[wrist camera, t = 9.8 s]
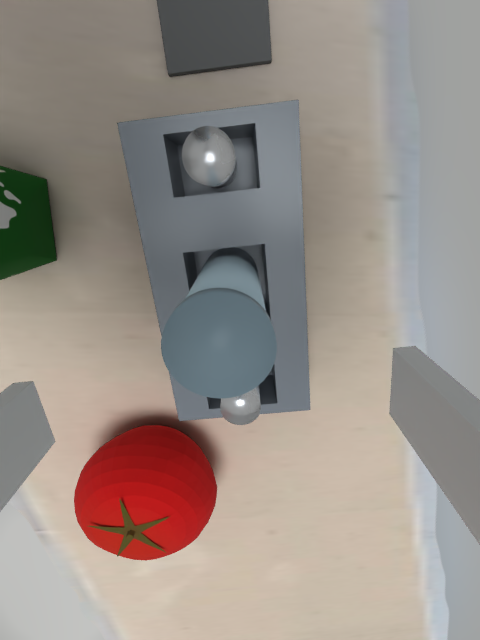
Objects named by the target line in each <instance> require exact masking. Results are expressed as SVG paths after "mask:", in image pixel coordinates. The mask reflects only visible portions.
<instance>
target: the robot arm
mask: <svg viewBox="0 0 480 640" xmlns="http://www.w3.org/2000/svg"><path fill="white" fill-rule="evenodd" d="M389 414H390V415H391V417H392V418H393V420H394V421H395V423H396V424H397V425H398V427H399V428H400V430H401V431H402V433H403V434H404V436H405V437H406V439H407V440H408V441H409V443H410V444H411V446H412V447H413V449H414V450H415V452H416V453H417V454H418V456H419V457H420V459H421V460H422V462H423V463H424V465H425V466H426V468H427V469H428V470H429V472H430V473H431V475H432V476H433V478H434V479H435V481H436V482H437V483H438V485H439V486H440V488H441V489H442V491H443V492H444V494H445V495H446V496H447V498H448V499H449V501H450V502H451V504H452V505H453V507H454V508H455V510H456V511H457V512H458V514H459V515H460V517H461V518H462V520H463V521H464V522H465V524H466V526H467V527H468V528H469V530H470V531H471V533H472V534H473V536H474V537H475V539H476V540H477V541H478V543H479V544H480V400H479V399H478V398H476V397H475V396H474V395H473V394H472V393H470V392H469V391H468V390H467V389H466V388H465V387H464V386H462V385H461V384H460V383H459V382H458V381H456V380H455V379H454V378H453V377H452V376H450V375H449V374H448V373H447V372H446V371H444V370H443V369H442V368H441V367H440V366H438V365H437V364H436V363H435V362H434V361H433V360H431V359H430V358H429V357H428V356H427V355H425V354H424V353H423V352H422V351H421V350H419V349H418V348H417V347H416V346H411V347H400V348H393V361H392V378H391V396H390V413H389ZM54 443H55V439H54V436H53V434H52V431H51V428H50V425H49V423H48V420H47V417H46V414H45V412H44V409H43V406H42V404H41V401H40V398H39V395H38V393H37V390H36V387H35V385H34V382H33V381H30V382H19V383H13V384H11V385H10V386H9V387H8V388H6V389H5V390H4V391H3V392H1V393H0V511H1V510H2V509H3V508H4V506H5V505H6V504H7V502H8V501H9V500H10V499H11V497H12V496H13V495H14V494H15V492H16V491H17V490H18V489H19V487H20V486H21V485H22V483H23V482H24V481H25V480H26V478H27V477H28V476H29V474H30V473H31V472H32V471H33V469H34V468H35V467H36V466H37V464H38V463H39V462H40V460H41V459H42V458H43V457H44V455H45V454H46V453H47V452H48V450H49V449H50V448H51V446H52V445H53V444H54Z"/></svg>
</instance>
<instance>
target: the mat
mask: <svg viewBox="0 0 480 640" xmlns="http://www.w3.org/2000/svg"><path fill="white" fill-rule="evenodd" d="M157 5H158V12H159V18H160V25H161V31H162V38H163V44H164V51H165V57H166V64H167V70H168V75H169V76H178V75H185V74H193V73H200V72H208V71H216V70H223V69H231V68H238V67H246V66H253V65H261V64H268V63H271V61H272V58H271V42H270V25H269V9H268V0H157Z"/></svg>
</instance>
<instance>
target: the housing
mask: <svg viewBox="0 0 480 640" xmlns="http://www.w3.org/2000/svg"><path fill="white" fill-rule="evenodd" d="M117 124H118V129H119V134H120V139H121V144H122V149H123V153H124V158H125V163H126V168H127V173H128V177H129V182H130V187H131V192H132V197H133V201H134V206H135V211H136V216H137V221H138V225H139V230H140V235H141V240H142V245H143V249H144V254H145V259H146V264H147V269H148V273H149V278H150V283H151V288H152V293H153V297H154V302H155V307H156V312H157V317H158V321H159V326H160V331H161V336H162V333H163V330H164V327H165V325H166V323H167V321H168V319H169V317H170V316H171V314H172V313H173V311H174V310H175V308H176V307H177V306H178V305H179V304H180V303H181V302H182V301H183V300H184V299H185V298H186V296H187V295H188V293H189V291H190V289H191V288H192V286H193V284H194V282H195V281H196V279H197V277H198V275H199V274H200V272H201V270H202V268H203V267H204V265H205V263H206V261H207V260H208V258H209V257H210V256H211V255H212V254H213V253H214V252H215V251H217V250H219V249H222V248H231V247H236V248H240V249H242V250H244V251H246V252H247V253H248V254H249V255H250V256H251V257H252V258H253V260H254V261H255V263H256V266H257V270H258V275H259V280H260V285H261V290H262V294H263V299H264V304H265V309H266V312H267V314H268V315H269V317H270V319H271V322H272V324H273V328H274V332H275V336H276V342H277V353H276V358H275V362H274V365H273V367H272V369H271V371H270V373H269V374H268V376H267V377H266V378H265V379H264V381H263V382H262V383H260V384H259V393H260V405H261V410H260V414H268V413H280V412H291V411H303V410H310V388H309V362H308V336H307V309H306V283H305V257H304V231H303V205H302V178H301V152H300V126H299V100H292V101H284V102H277V103H269V104H261V105H253V106H245V107H237V108H229V109H222V110H214V111H206V112H198V113H190V114H182V115H174V116H166V117H159V118H151V119H143V120H135V121H127V122H119V123H117ZM203 126H213V127H216V128H219V129H220V130H222V131H223V132H225V133H226V134H227V135H228V137H229V138H230V140H231V141H232V144H233V146H234V150H235V156H236V162H237V172H236V175H235V177H234V179H233V181H232V182H231V183H230V184H229V185H227V186H225V187H223V188H212V187H209V186H206V185H203V184H200V183H198V182H196V181H195V180H193V179H192V178H191V177H190V176H189V174H188V173H187V172H186V170H185V168H184V165H183V161H182V148H183V144H184V142H185V140H186V138H187V137H188V135H189V134H190V133H191V132H192V131H194V130H195V129H197V128H199V127H203ZM169 374H170V372H169ZM170 379H171V384H172V389H173V394H174V398H175V403H176V408H177V413H178V418H179V421H185V420H197V419H209V418H220V417H223V416H222V414H221V410H220V405H221V398H220V399H219V398H209V397H204V396H201V395H198V394H196V393H194V392H191V391H190V390H188V389H186V388H185V387H183V386H182V385H181V384H180V383H178V382H177V381H176V380H175V379H174V377H173V376H172V375H171V374H170Z"/></svg>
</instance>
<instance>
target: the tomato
mask: <svg viewBox="0 0 480 640" xmlns="http://www.w3.org/2000/svg"><path fill="white" fill-rule="evenodd" d="M216 494H217V485H216V481H215V477H214V473H213V470H212V468H211V466H210V463H209V461H208V460H207V458H206V457H205V455H204V453H203V452H202V450H201V448H200V447H199V446H198V445H197V444H196V443H195V442H194V441H193V440H192V439H190V438H189V437H188V436H187V435H185V434H184V433H182V432H180V431H178V430H176V429H174V428H170V427H167V426H160V425H149V426H141V427H137V428H133V429H131V430H129V431H127V432H125V433H123V434H121V435H119V436H117V437H115V438H114V439H112V440H110V441H109V442H107V443H106V444H105V445H103V446H102V447H100V448H99V449H98V450H97V452H96V453H95V454H94V455H93V456H92V457H91V458H90V459H89V461H88V462H87V463H86V465H85V466H84V468H83V470H82V471H81V474H80V477H79V480H78V483H77V486H76V489H75V497H74V505H75V513H76V517H77V521H78V523H79V525H80V526H81V528H82V530H83V531H84V533H85V535H86V536H87V538H88V539H89V540H90V541H91V542H93V543H94V544H95V545H96V546H98V547H100V548H102V549H104V550H106V551H108V552H111V553H113V554H116V555H117V556H122V557H125V558H129V559H134V560H152V559H157V558H161V557H164V556H167V555H170V554H172V553H175V552H177V551H179V550H181V549H183V548H184V547H186V546H187V545H189V544H190V543H191V542H193V541H194V540H195V539H196V538H197V537H198V536H199V534H200V533H201V531H202V530H203V528H204V527H205V526H206V524H207V523H208V521H209V519H210V517H211V514H212V512H213V509H214V507H215V503H216Z"/></svg>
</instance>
